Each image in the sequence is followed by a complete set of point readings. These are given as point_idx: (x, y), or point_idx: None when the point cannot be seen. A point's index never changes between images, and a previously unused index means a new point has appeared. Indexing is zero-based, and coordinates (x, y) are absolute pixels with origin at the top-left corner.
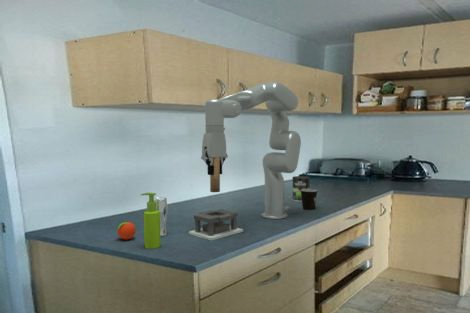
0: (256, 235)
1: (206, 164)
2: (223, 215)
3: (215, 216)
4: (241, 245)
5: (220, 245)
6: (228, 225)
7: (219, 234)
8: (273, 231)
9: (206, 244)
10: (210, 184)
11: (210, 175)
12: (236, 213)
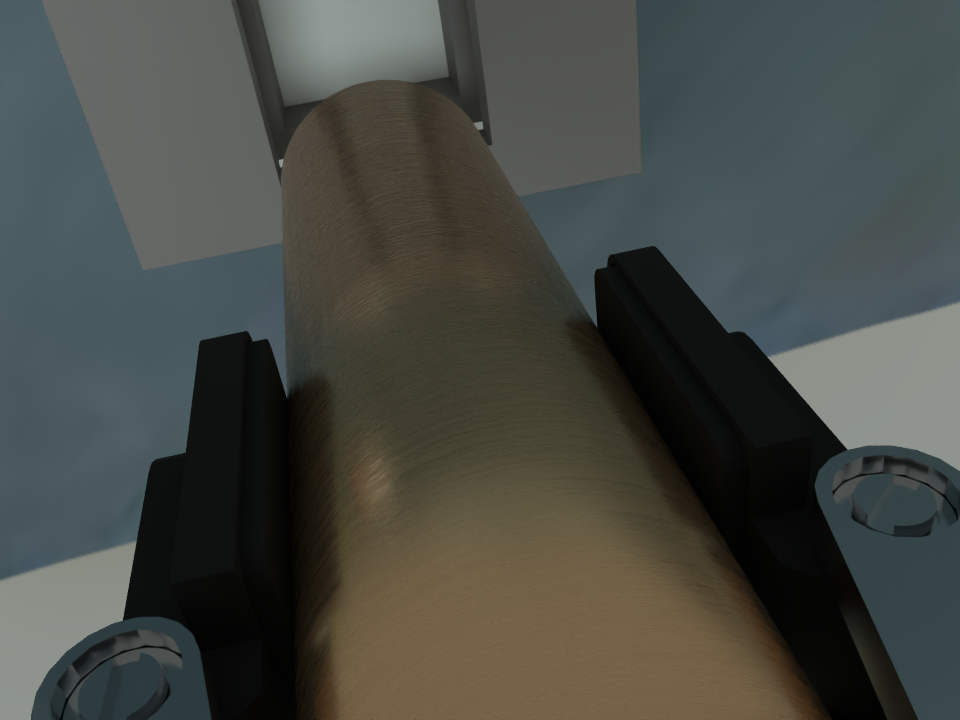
0: None
1: (61, 682)
2: None
3: (280, 188)
4: None
5: (169, 385)
6: (473, 120)
7: None
8: (802, 293)
9: (61, 302)
10: (283, 238)
11: (286, 369)
12: (620, 172)
